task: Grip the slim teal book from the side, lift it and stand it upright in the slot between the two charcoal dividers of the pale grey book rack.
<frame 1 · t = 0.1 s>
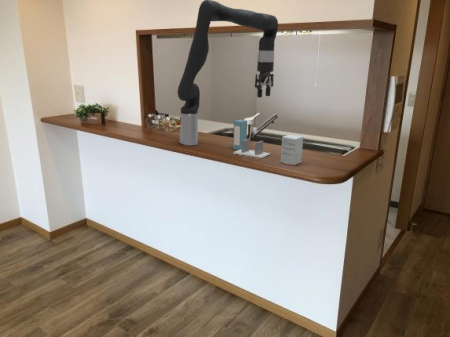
hand: (263, 96, 175), 29 cm above the countertop, tool pointing down, fingers open, 8 cm apart
book rack: (251, 154, 185), on the countertop
supplement box: (290, 163, 172), on the countertop
book: (239, 148, 198), on the countertop
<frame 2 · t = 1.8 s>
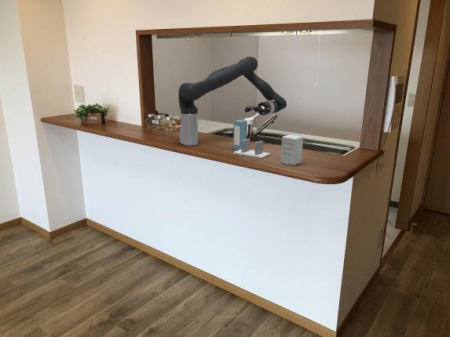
hand: (252, 111, 203), 19 cm above the countertop, tool horizontal, fingers open, 8 cm apart
nothing on the countertop moved.
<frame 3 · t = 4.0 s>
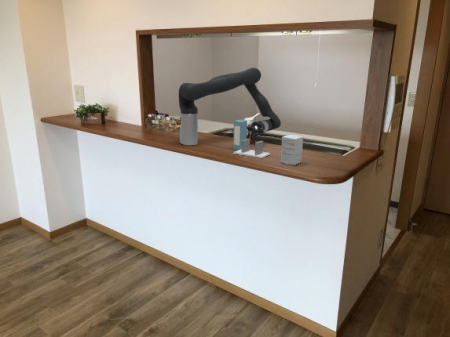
hand: (245, 131, 200), 8 cm above the countertop, tool horizontal, fingers open, 8 cm apart
nothing on the countertop moved.
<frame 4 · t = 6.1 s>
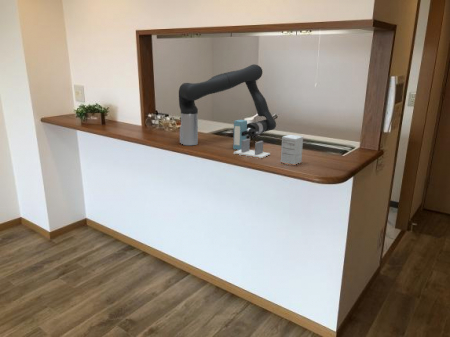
hand: (238, 133, 194), 9 cm above the countertop, tool horizontal, fingers closed on book, 4 cm apart
book: (239, 148, 198), on the countertop, touching gripper
everything else where it was.
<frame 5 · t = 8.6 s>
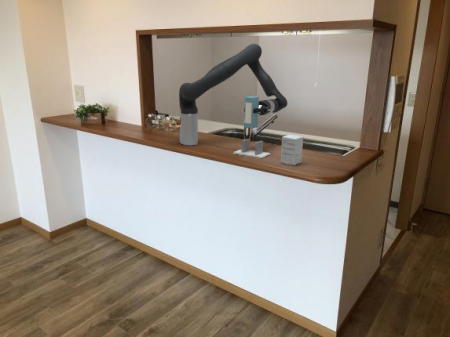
hand: (249, 110, 181), 22 cm above the countertop, tool horizontal, fingers closed on book, 4 cm apart
book: (250, 127, 185), point 13 cm above the countertop, touching gripper
everything else where it was.
when the fingers open (11 cm above the countertop, at t = 11.4 s): book drops 1 cm, resting on book rack.
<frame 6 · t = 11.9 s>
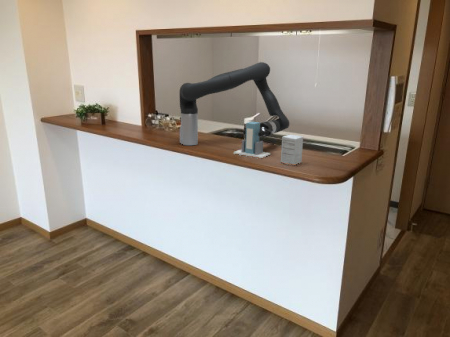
hand: (251, 133, 181), 11 cm above the countertop, tool horizontal, fingers open, 8 cm apart
book: (252, 152, 185), point 1 cm above the countertop, touching book rack
everything else where it was.
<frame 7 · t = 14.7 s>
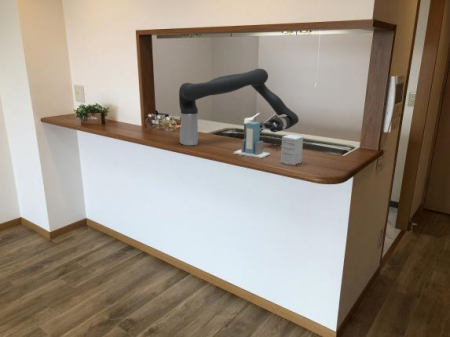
hand: (263, 128, 192), 12 cm above the countertop, tool horizontal, fingers open, 8 cm apart
nothing on the countertop moved.
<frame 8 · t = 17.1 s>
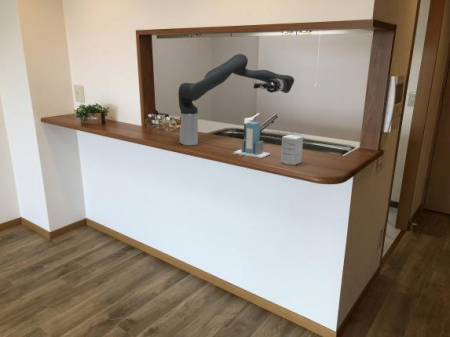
hand: (261, 86, 198), 32 cm above the countertop, tool horizontal, fingers open, 8 cm apart
nothing on the countertop moved.
at the end: book 0.1 cm off-centre on the book rack, point 1.2 cm above the book rack's base; book tilted 0°; the gripper is holding nothing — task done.
